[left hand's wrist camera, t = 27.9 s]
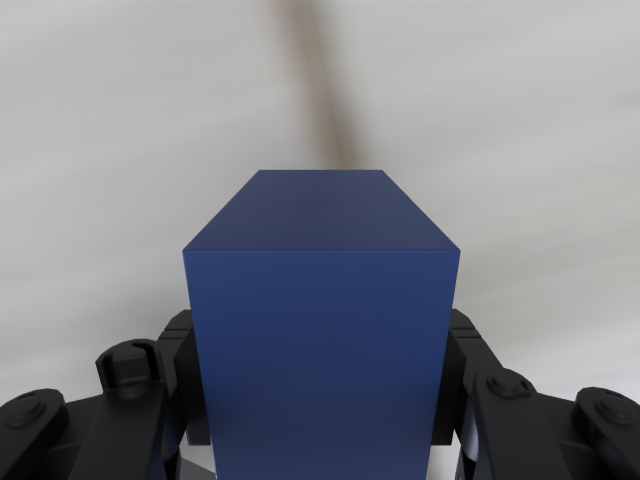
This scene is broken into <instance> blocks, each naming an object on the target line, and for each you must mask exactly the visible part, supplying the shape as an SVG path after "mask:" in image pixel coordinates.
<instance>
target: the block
mask: <svg viewBox="0 0 640 480" xmlns="http://www.w3.org/2000/svg"><path fill="white" fill-rule="evenodd" d="M182 252H183V259H184V266H185V272H186V279H187V286H188V292H189V299H190V306H191V312H192V319H193V326H194V332H195V339H196V346H197V352H198V359H199V366H200V372H201V379H202V386H203V392H204V399H205V406H206V412H207V419H208V426H209V432H210V439H211V446H212V452H213V459H214V466H215V472H216V479H217V480H426V474H427V467H428V461H429V454H430V448H431V441H432V435H433V428H434V422H435V415H436V408H437V402H438V395H439V389H440V382H441V376H442V369H443V363H444V356H445V350H446V343H447V337H448V330H449V324H450V317H451V311H452V304H453V297H454V291H455V284H456V278H457V271H458V265H459V258H460V249H459V248H458V247H457V246H456V245H455V244H454V243H453V242H452V241H451V240H450V239H449V238H448V237H447V236H446V235H445V234H444V233H443V232H442V231H441V230H440V229H439V228H438V227H437V226H436V225H435V224H434V223H433V222H432V221H431V220H430V219H429V218H428V216H427V215H426V214H425V213H424V212H423V211H422V210H421V209H420V208H419V207H418V206H417V205H416V204H415V203H414V202H413V201H412V200H411V199H410V198H409V197H408V196H407V195H406V194H405V193H404V192H403V191H402V190H401V189H400V188H399V187H398V186H397V185H396V184H395V183H394V182H393V181H392V180H391V179H390V178H389V176H388V175H387V174H386V173H385V172H384V171H383V170H259V171H258V172H257V173H256V174H255V175H254V176H253V177H252V178H251V179H250V180H249V181H248V182H247V183H246V184H245V185H244V186H243V187H242V189H241V190H240V191H239V192H238V193H237V194H236V195H235V196H234V197H233V198H232V199H231V200H230V201H229V202H228V203H227V204H226V205H225V206H224V207H223V208H222V209H221V210H220V212H219V213H218V214H217V215H216V216H215V217H214V218H213V219H212V220H211V221H210V222H209V223H208V224H207V225H206V226H205V227H204V228H203V229H202V230H201V231H200V232H199V233H198V235H197V236H196V237H195V238H194V239H193V240H192V241H191V242H190V243H189V244H188V245H187V246H186V247H185V248H184V249H183V251H182Z"/></svg>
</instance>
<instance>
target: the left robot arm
mask: <svg viewBox="0 0 640 480" xmlns="http://www.w3.org/2000/svg"><path fill="white" fill-rule="evenodd" d="M95 363H96V367H97V370H98V374H99V377H100V381H101V385H102V388H103V394H101V395H97V396H94V397H90V398H86V399H81V400H77V401H72V402H68V403H65V400H64V397H63V394H62V393H60V392H59V391H58V390H55V389H48V388H47V389H40V390H34V391H31V392H28V393H25V394H22V395H20V396H18V397H16V398H14V399H12V400H10V401H9V402H7V403H5V404H4V405H3V406H1V407H0V480H217V479H216V474H215V473H213V472H211V471H209V470H207V469H205V468H203V467H201V466H199V465H197V464H194V463H192V462H190V461H188V460H186V459H184V458H182V457H181V454H180V448H179V445H180V442H181V440H182V438H183V435H184V433H185V430H186V434H187V439H188V445H211V439H210V432H209V426H208V419H207V412H206V406H205V399H204V392H203V386H202V379H201V372H200V366H199V359H198V352H197V346H196V339H195V332H194V326H193V319H192V312H191V310H183V311H182V312H180V313H179V314H178V315H176V316H175V317H173V318H172V319H171V320H170V322H169V323H168V325H167V326H166V328H165V330H164V331H163V332H162V333H161V335H160V336H159V339H158V340H156V342H155V341H153V340H149V339H133V340H129V341H125V342H122V343H119V344H117V345H115V346H113V347H111V348H109V349H108V350H106V351H105V352H104V353H102V354H101V355H100V356H99V358H98V359H97V360H96V362H95ZM454 429H455V432H456V434H457V436H458V439H459V441H460V444H461V448H460V453H459V459H458V464H457V469H456V474H455V480H460V478H461V480H640V405H638V404H637V403H636V402H635V401H633V400H631V399H629V398H627V397H625V396H624V395H622V394H620V393H617V392H614V391H611V390H608V389H604V388H597V387H588V388H583V389H582V390H580V391H579V392H578V393H577V396H576V399H575V402H574V401H570V400H565V399H561V398H557V397H552V396H548V395H544V394H541V393H538V392H537V391H536V389H535V388H534V386H533V385H532V383H531V382H529V381H528V380H527V379H526V378H525V377H523V376H522V375H520V374H518V373H516V372H514V371H512V370H510V369H506V368H503V366H502V365H501V363H500V362H499V361H498V359H497V358H496V356H495V355H494V353H493V352H492V351H491V349H490V348H489V346H488V345H487V344H486V342H485V341H484V339H482V338H481V335H480V334H479V332H478V331H477V330H476V329H475V326H474V325H473V324H472V322H471V321H470V319H469V318H468V317H467V316H465V315H464V314H463V313H461V312H460V311H458V310H457V309H452V311H451V317H450V324H449V330H448V337H447V343H446V350H445V356H444V363H443V369H442V376H441V382H440V389H439V395H438V402H437V408H436V415H435V422H434V428H433V435H432V441H431V445H451V444H452V438H453V432H454Z"/></svg>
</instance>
